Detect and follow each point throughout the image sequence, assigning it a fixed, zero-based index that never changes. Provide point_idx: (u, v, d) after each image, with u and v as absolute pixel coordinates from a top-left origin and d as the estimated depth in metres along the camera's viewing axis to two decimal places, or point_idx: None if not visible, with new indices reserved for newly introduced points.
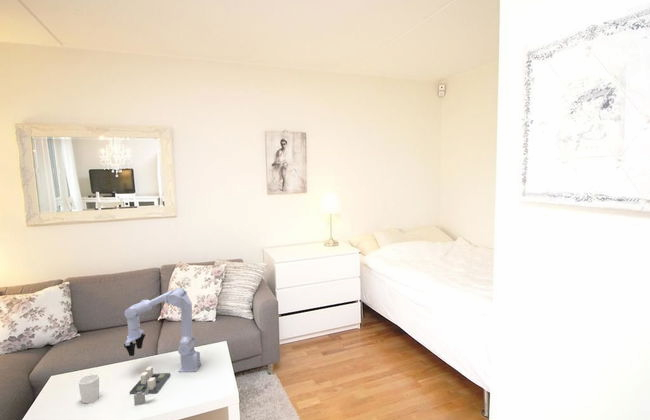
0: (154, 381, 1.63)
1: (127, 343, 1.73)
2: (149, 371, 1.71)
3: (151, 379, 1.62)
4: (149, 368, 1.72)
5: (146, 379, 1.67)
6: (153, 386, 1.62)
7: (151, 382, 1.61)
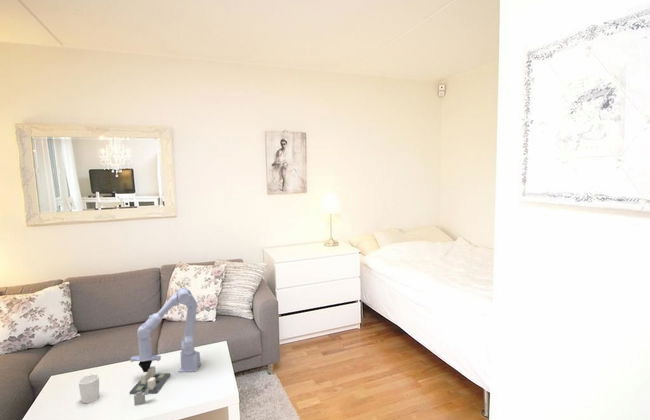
0: (154, 381, 1.63)
1: None
2: (151, 371, 1.71)
3: (151, 379, 1.62)
4: (151, 368, 1.72)
5: (146, 379, 1.67)
6: (153, 386, 1.62)
7: (151, 382, 1.61)
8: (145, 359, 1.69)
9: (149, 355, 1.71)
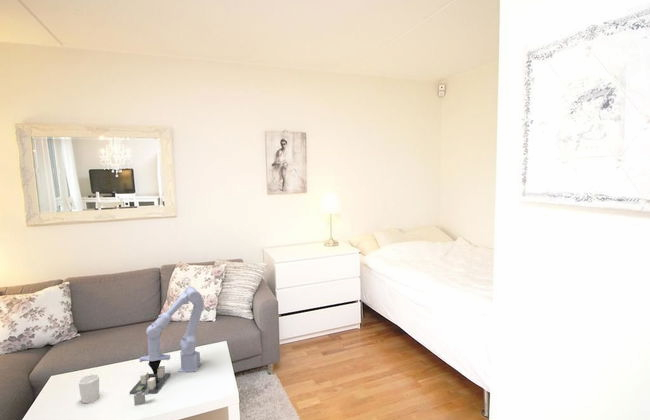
0: (154, 381, 1.63)
1: None
2: (161, 371, 1.71)
3: (151, 379, 1.62)
4: (161, 368, 1.72)
5: (146, 379, 1.67)
6: (153, 386, 1.62)
7: (151, 382, 1.61)
8: (155, 359, 1.69)
9: (159, 354, 1.71)
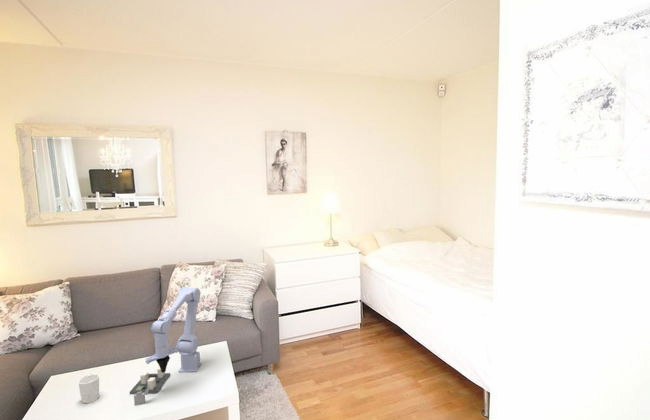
0: (154, 381, 1.63)
1: (146, 361, 1.56)
2: None
3: (151, 379, 1.62)
4: None
5: (146, 379, 1.67)
6: (153, 386, 1.62)
7: (151, 382, 1.61)
8: (167, 354, 1.61)
9: (168, 349, 1.63)
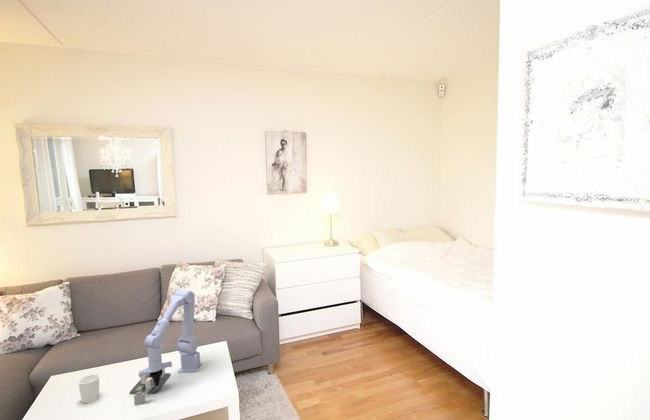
0: (152, 381, 1.63)
1: (139, 374, 1.57)
2: None
3: (149, 379, 1.62)
4: None
5: (146, 379, 1.67)
6: (151, 386, 1.62)
7: (149, 382, 1.61)
8: (159, 368, 1.61)
9: (161, 363, 1.63)
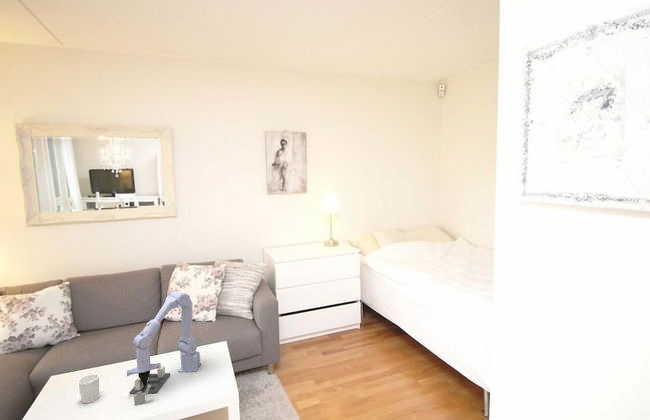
0: (141, 381, 1.63)
1: None
2: (161, 371, 1.71)
3: (138, 379, 1.62)
4: (161, 368, 1.72)
5: None
6: (140, 386, 1.62)
7: (138, 382, 1.61)
8: (146, 369, 1.60)
9: (150, 364, 1.62)
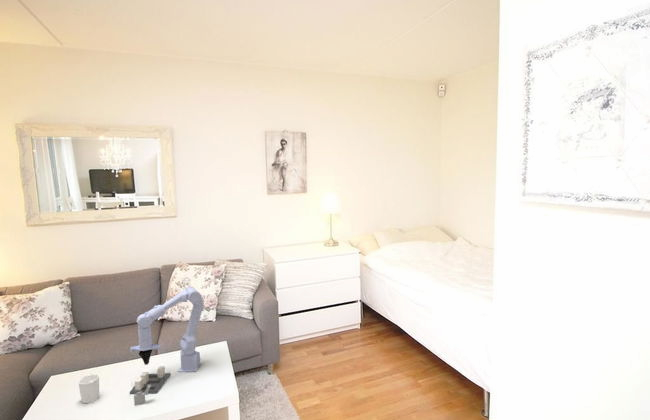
0: (142, 381, 1.63)
1: None
2: (161, 371, 1.71)
3: (139, 379, 1.62)
4: (161, 368, 1.72)
5: (146, 379, 1.67)
6: (141, 386, 1.62)
7: (138, 382, 1.61)
8: (146, 348, 1.66)
9: (150, 344, 1.68)
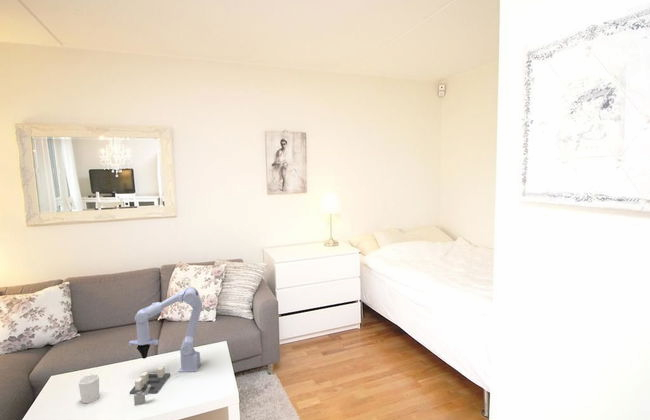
0: (142, 381, 1.63)
1: None
2: (161, 371, 1.71)
3: (139, 379, 1.62)
4: (161, 368, 1.72)
5: (146, 379, 1.67)
6: (141, 386, 1.62)
7: (138, 382, 1.61)
8: (143, 343, 1.71)
9: (147, 339, 1.73)
